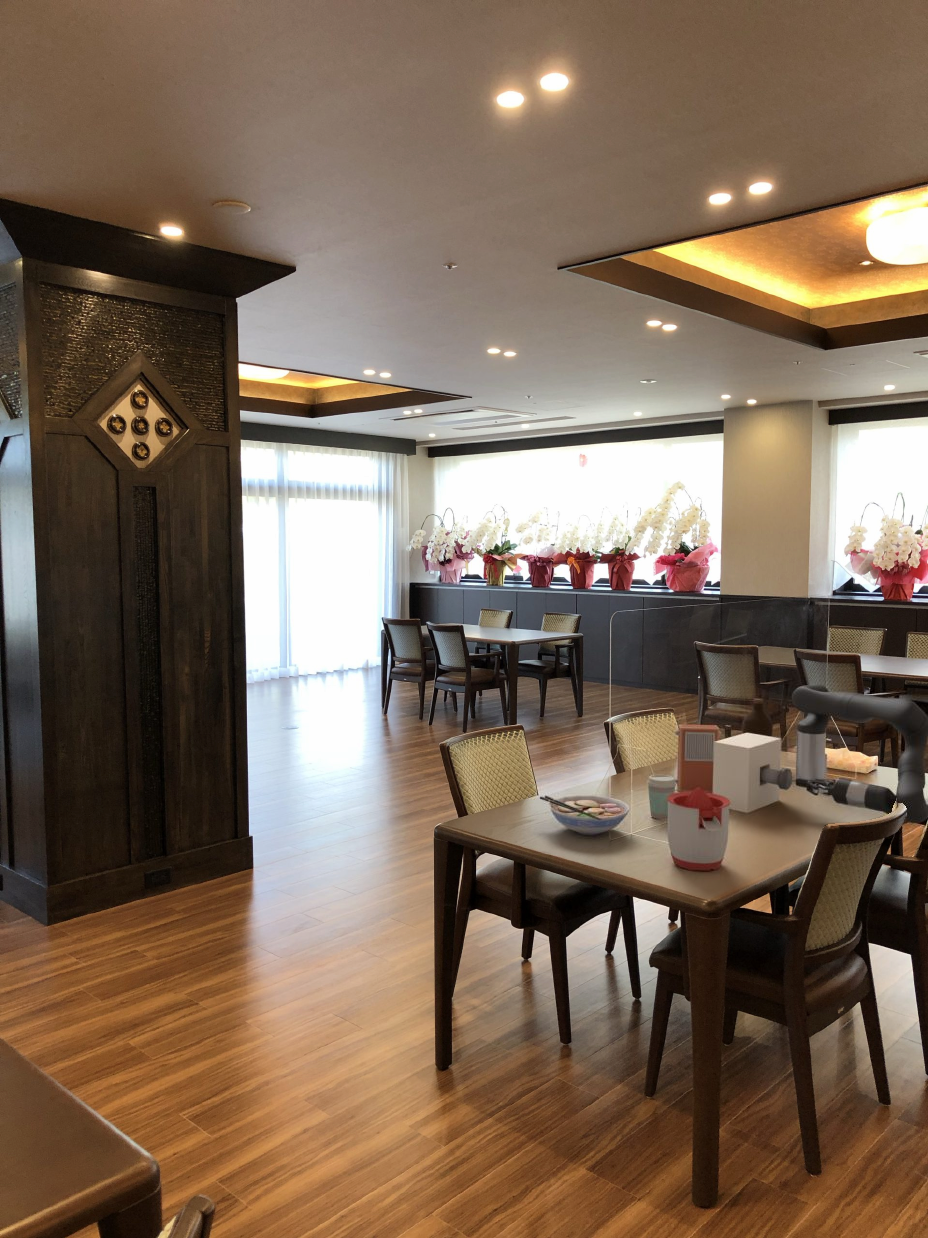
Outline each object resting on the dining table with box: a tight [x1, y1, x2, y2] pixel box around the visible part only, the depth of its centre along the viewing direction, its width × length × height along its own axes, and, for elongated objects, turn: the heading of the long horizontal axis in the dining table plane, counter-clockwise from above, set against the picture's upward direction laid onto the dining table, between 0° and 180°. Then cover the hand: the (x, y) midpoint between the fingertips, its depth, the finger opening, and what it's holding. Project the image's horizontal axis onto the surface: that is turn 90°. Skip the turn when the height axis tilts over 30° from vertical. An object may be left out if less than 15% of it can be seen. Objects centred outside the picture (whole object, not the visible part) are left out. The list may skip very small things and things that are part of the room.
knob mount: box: [713, 733, 782, 814], centre depth 296 cm, size 20×12×20 cm, turn 134°
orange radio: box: [674, 723, 722, 793], centre depth 310 cm, size 21×7×15 cm
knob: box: [760, 767, 793, 791], centre depth 289 cm, size 6×9×6 cm
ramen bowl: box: [539, 794, 631, 836], centre depth 267 cm, size 25×23×8 cm
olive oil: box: [741, 698, 774, 737], centre depth 342 cm, size 11×11×25 cm
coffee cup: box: [646, 774, 677, 820], centre depth 280 cm, size 9×9×12 cm
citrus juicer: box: [667, 788, 730, 871], centre depth 239 cm, size 16×17×20 cm
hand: (796, 781), depth 284 cm, fingers closed
